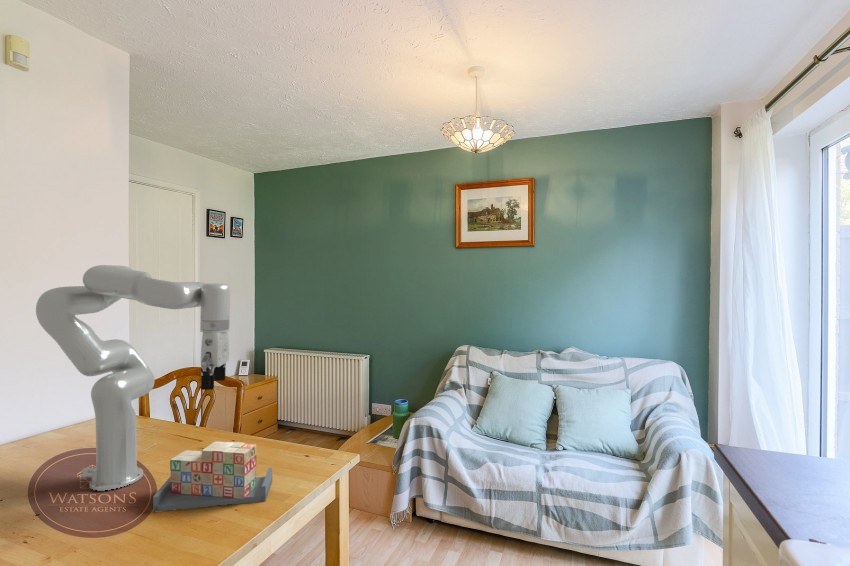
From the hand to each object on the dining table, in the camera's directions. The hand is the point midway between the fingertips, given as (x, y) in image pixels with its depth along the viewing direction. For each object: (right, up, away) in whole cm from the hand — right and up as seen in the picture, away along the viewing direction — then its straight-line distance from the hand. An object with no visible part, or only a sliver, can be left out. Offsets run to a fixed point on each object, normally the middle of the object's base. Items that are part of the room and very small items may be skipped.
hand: (213, 384), depth 120 cm
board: (+5, -29, -7) cm, 30 cm away
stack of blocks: (+4, -27, -7) cm, 29 cm away
